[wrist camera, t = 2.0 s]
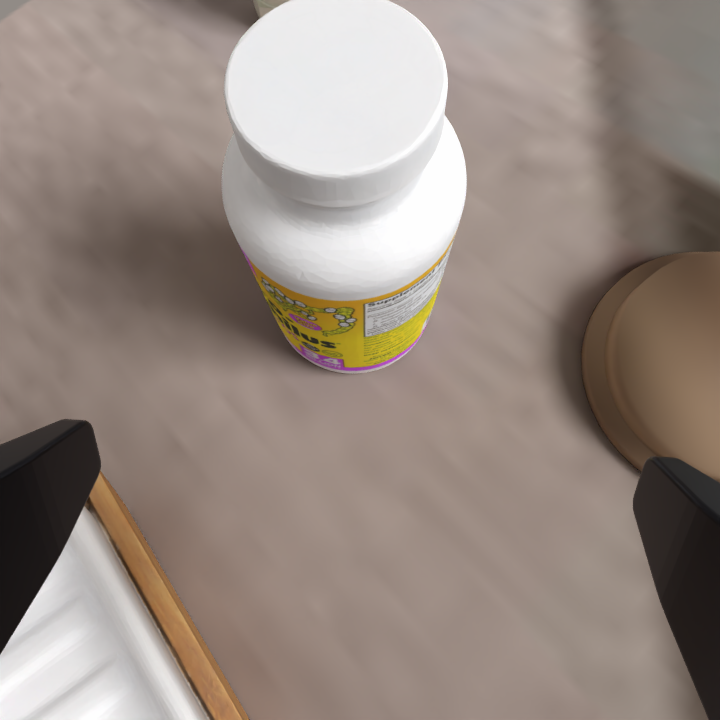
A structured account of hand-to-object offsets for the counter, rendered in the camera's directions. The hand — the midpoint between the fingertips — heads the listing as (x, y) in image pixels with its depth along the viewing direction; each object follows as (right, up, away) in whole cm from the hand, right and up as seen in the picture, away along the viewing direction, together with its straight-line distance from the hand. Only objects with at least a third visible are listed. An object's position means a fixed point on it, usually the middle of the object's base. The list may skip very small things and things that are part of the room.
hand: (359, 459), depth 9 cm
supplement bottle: (0, +4, +15) cm, 15 cm away
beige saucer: (+14, +1, +14) cm, 20 cm away
